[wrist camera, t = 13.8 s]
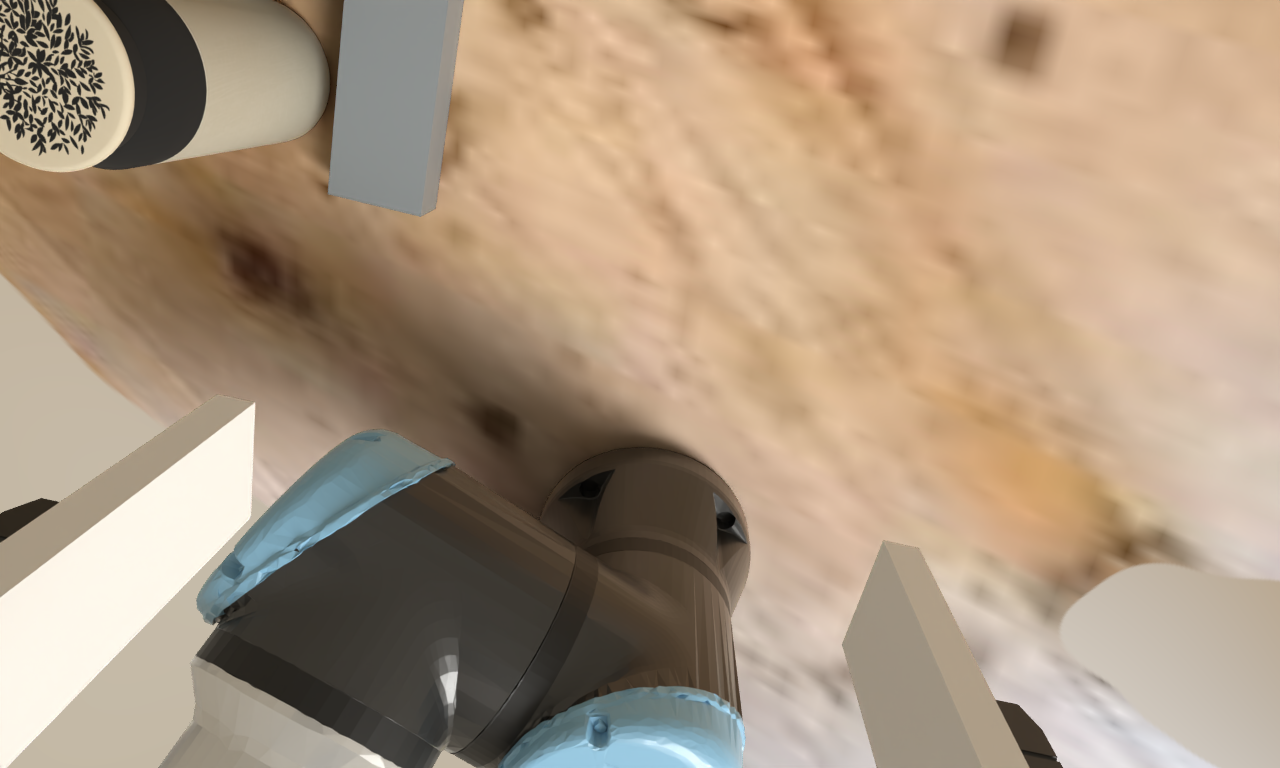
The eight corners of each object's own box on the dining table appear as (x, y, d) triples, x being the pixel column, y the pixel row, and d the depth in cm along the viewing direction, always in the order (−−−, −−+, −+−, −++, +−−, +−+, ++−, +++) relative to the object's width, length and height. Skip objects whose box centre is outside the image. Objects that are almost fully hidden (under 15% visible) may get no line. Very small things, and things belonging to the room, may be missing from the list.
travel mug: (330, 6, 45) (120, -35, 28) (334, 150, 48) (146, 190, 31) (192, -12, 45) (-100, -63, 28) (205, 133, 48) (-53, 166, 31)
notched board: (435, 208, 49) (420, 216, 46) (81, 121, 48) (44, 124, 45) (480, -122, 42) (466, -136, 39) (69, -230, 41) (25, -252, 38)
